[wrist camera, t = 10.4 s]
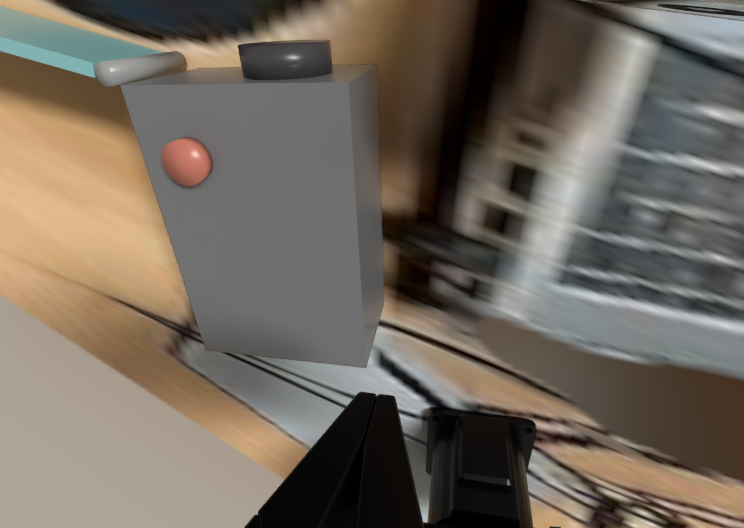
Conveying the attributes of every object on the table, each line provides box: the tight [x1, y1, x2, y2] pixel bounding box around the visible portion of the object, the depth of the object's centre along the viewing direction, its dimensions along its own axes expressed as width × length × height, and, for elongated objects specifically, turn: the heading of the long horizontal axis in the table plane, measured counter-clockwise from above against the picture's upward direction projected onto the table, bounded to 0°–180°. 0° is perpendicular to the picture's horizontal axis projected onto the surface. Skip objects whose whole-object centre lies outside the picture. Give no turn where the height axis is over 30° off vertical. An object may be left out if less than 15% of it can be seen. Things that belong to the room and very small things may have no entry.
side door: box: [0, 6, 187, 87], centre depth 16 cm, size 12×1×4 cm, turn 77°
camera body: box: [120, 40, 384, 368], centre depth 18 cm, size 13×8×6 cm, turn 2°
